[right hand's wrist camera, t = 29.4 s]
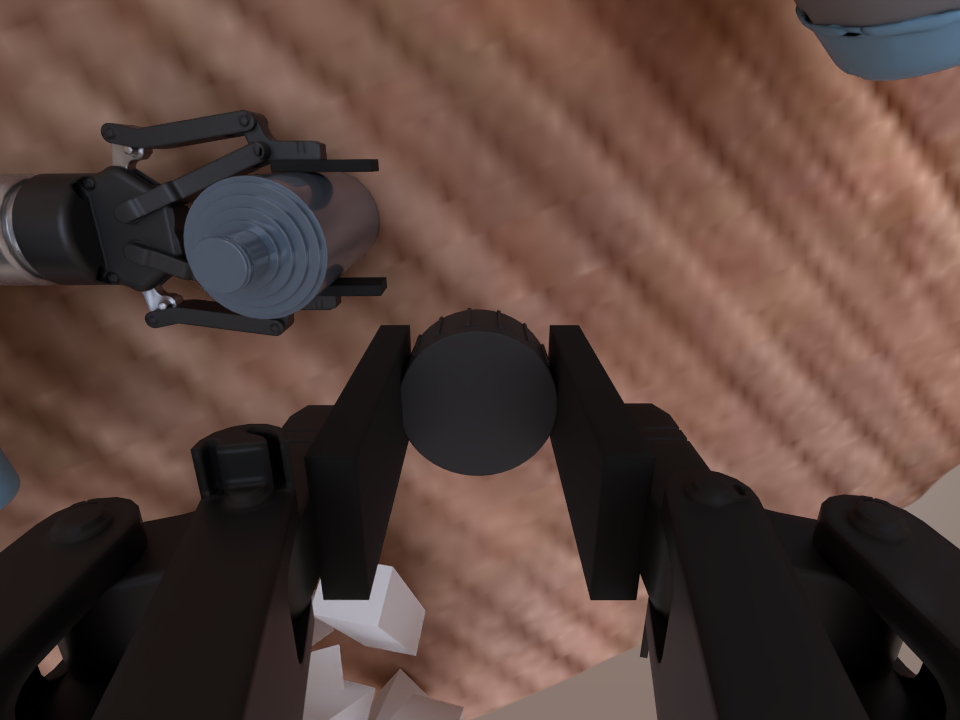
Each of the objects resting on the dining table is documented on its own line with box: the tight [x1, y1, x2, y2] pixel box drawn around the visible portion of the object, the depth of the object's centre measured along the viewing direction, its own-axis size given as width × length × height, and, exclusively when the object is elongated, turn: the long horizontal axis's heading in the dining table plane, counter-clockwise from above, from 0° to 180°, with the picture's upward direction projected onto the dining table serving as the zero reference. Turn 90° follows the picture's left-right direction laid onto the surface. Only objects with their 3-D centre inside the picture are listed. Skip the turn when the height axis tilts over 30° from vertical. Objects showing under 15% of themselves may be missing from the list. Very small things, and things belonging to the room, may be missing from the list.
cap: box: [401, 308, 558, 476], centre depth 13 cm, size 4×4×2 cm
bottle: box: [184, 172, 379, 319], centre depth 34 cm, size 8×8×21 cm
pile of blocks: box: [303, 564, 464, 720], centre depth 45 cm, size 35×30×35 cm
